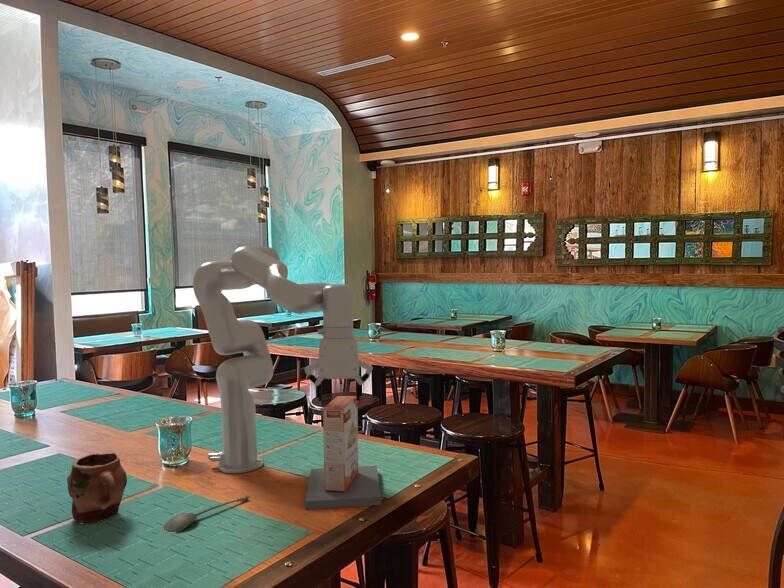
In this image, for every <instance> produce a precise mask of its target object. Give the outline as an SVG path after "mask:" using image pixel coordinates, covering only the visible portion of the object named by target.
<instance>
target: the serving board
mask: <svg viewBox="0 0 784 588" xmlns="http://www.w3.org/2000/svg"><path fill="white" fill-rule="evenodd" d="M380 489H381V487H380V481H379V474H378V466H377V465H362V466H359V465H358V474H357V475H356V477H355V478H354V480H353V481H352V483H351V484H350V486H349V487H348V489H347V490H346V492H340V491H325V488H324V467H323V468H311V469H310V473H309V478H308V483H307V488H306V494H305V499H304V507H305V508H304V509H305V510H319V509H334V508H335V509H337V508H355V507H357V508H358V507H371V506H372V505H375V506H382V495H381V490H380Z"/></svg>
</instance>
